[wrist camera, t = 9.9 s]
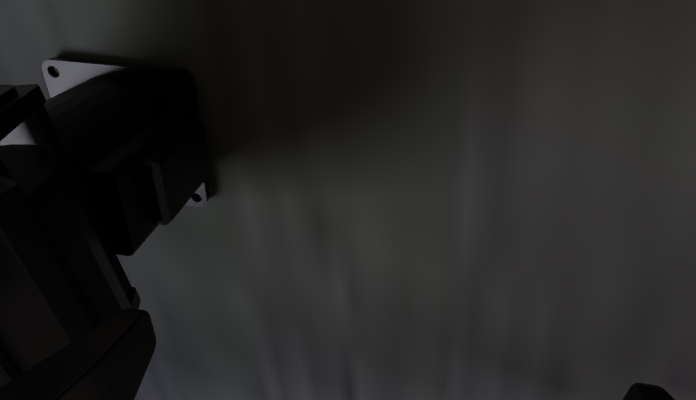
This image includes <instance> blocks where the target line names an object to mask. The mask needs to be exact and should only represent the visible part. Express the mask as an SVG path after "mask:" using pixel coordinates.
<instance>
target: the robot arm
mask: <svg viewBox="0 0 696 400" xmlns="http://www.w3.org/2000/svg"><path fill="white" fill-rule="evenodd" d="M54 67H55V68H57V69H58V71H59V74H58V73H57V72H56V71H55V69H54ZM42 71H43V75H44V78H45V81H46V84H47V87H48V90H49V93H50V97H51V98H50V99H48V100H46V99H45V97H44V95H43V93H42V91H41V89H40V87H39V85H38V84H29V85H17V86H14V85H0V400H134V399H135V396H136V394H137V391H138V389H139V387H140V384H141V382H142V379H143V377H144V375H145V372H146V370H147V367H148V365H149V362H150V360H151V358H152V355H153V353H154V350H155V346H156V337H155V333H154V329H153V325H152V322H151V318H150V315H149V313H148V312H147V311H145V310H140V309H138V308H139V304H140V297H139V295H138V293H137V290H136V289H135V288H134V287H131V285H130V283H129V281H128V279H127V276H126V274H125V272H124V270H123V268H122V266H121V264H120V262H119V260H118V258H117V256H116V254H118V255H125V256H131V255H133V254H134V253H135V251H136V250H137V249H138V248H139V247H140V246H141V244H142V243H143V242H144V241H145V240H146V239H147V237H148V236H149V235H150V234H151V233H152V232H153V230H154V229H155V228H156V227H157V226H158V225H159V224H160V225H167V224H168V223H169V222H171V221H172V220H173V218H174V217H175V216H176V215H177V214H178V212H179V211H180V210H181V209H182V208H183V206H184V205H188V206H196V207H201V206H203V205H205V204H206V202H207V201H208V200H209V198H210V192H209V185H208V176H209V175H210V165H209V157H208V150H207V142H206V135H205V127H204V124H203V123H202V121H201V120H200V119H199V112H198V105H197V97H196V90H195V83H194V79H193V77H192V75H191V74H190V73H189V72H188V71H186V70H183V69H178V68H167V67H156V66H145V65H134V64H124V63H113V62H102V61H91V60H80V59H70V58H59V57H55V58H51V59H48V60H46V61H44V62H43V64H42ZM177 78H180V79H181V80H183V82H184V84H185V85H184V87H183V86H180V85H179V84H178V82H177ZM195 193H197V194H199V195H200V196H201V198H199V197H197V196H196V195H195ZM623 400H675V399H674V398H673V397H672V396H671V395H670V394H669V393H668V392H667V391H665V390H664V389H663V388H661V387H659V386H656V385H651V384H644V383H635V384H633V385H632V386H631V387H630V388H629V390H628V392H627V393H626V395H625V397H624V398H623Z"/></svg>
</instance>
